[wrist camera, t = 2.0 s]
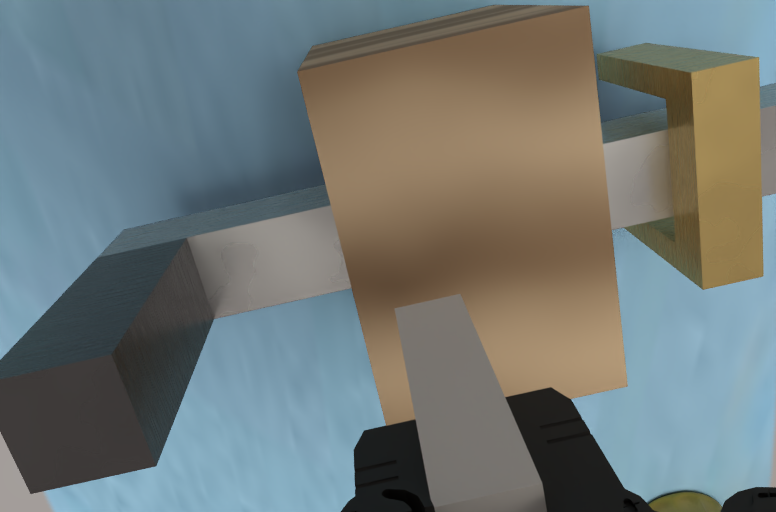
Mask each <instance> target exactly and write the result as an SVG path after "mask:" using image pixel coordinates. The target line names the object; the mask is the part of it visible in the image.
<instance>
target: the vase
mask: <svg viewBox="0 0 776 512" xmlns="http://www.w3.org/2000/svg"><path fill="white" fill-rule="evenodd" d="M648 505H649V506H650V507H651V508H652V510H654V511H658V512H720V511H721V509H722V506H721V505H720V504H719V503H718V502H717V501H716V500H714V499H713V498H711V497H709V496H707V495H704V494H700V493H695V492H680V493H675V494H670V495H667V496H663V497H661V498H658V499H656V500H654V501H653V502H651V503H649V504H648Z"/></svg>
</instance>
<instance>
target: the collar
mask: <svg viewBox="0 0 776 512" xmlns="http://www.w3.org/2000/svg"><path fill="white" fill-rule="evenodd" d="M597 64H598V74H599V80H602V81H606V82H609V83H613V84H616V85H620V86H623V87H626V88H630V89H633V90H637V91H640V92H644V93H647V94H651V95H654V96H657V97H661V98H664V99H666V109H667V123H668V138H669V153H670V168H671V182H672V197H673V212H674V216H672V217H668V218H663V219H659V220H655V221H650V222H646V223H641V224H637V225H632V226H628V227H623V228H625V229H626V230H627V231H629V232H630V233H631V234H632V235H634V236H635V237H636V238H638V239H639V240H640V241H641V242H643V243H644V244H645V245H646V246H648V247H649V248H650V249H652V250H653V251H654V252H655V253H657V254H658V255H659V256H661V257H662V258H663V259H664V260H666V261H667V262H668V263H669V264H671V265H672V266H673V267H675V268H676V269H677V270H678V271H680V272H681V273H682V274H683V275H685V276H686V277H687V278H689V279H690V280H691V281H692V282H694V283H695V284H696V285H698V286H699V287H700V288H701V289H703V290H704V289H709V288H713V287H718V286H722V285H727V284H731V283H736V282H740V281H745V280H749V279H754V278H758V277H763V231H762V181H761V131H760V81H759V57H752V56H744V55H737V54H729V53H721V52H713V51H705V50H697V49H689V48H682V47H674V46H666V45H658V44H650V43H644V44H639V45H635V46H631V47H626V48H622V49H617V50H613V51H608V52H604V53H600V54H597Z"/></svg>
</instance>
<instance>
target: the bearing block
mask: <svg viewBox="0 0 776 512" xmlns="http://www.w3.org/2000/svg"><path fill="white" fill-rule="evenodd" d="M297 73H298V77H299V81H300V85H301V89H302V93H303V97H304V101H305V105H306V109H307V113H308V117H309V121H310V125H311V129H312V133H313V137H314V140H315V144H316V148H317V152H318V156H319V160H320V164H321V168H322V172H323V176H324V180H325V184H326V188H327V192H328V196H329V200H330V204H331V208H332V212H333V216H334V220H335V224H336V228H337V232H338V236H339V240H340V244H341V248H342V252H343V256H344V260H345V264H346V268H347V272H348V276H349V280H350V284H351V288H352V292H353V295H354V299H355V303H356V307H357V311H358V315H359V319H360V323H361V327H362V331H363V335H364V339H365V343H366V347H367V351H368V355H369V359H370V363H371V367H372V371H373V375H374V379H375V383H376V387H377V391H378V395H379V399H380V403H381V407H382V411H383V415H384V419H385V423H386V426H387V425H392V424H396V423H401V422H405V421H410V420H414V419H415V414H414V409H413V403H412V398H411V393H410V387H409V382H408V377H407V372H406V366H405V361H404V356H403V351H402V345H401V340H400V335H399V329H398V324H397V319H396V314H395V308H399V307H403V306H408V305H412V304H417V303H421V302H426V301H430V300H435V299H439V298H444V297H448V296H453V295H457V294H461V297H462V299H463V301H464V303H465V306H466V308H467V310H468V313H469V315H470V317H471V320H472V322H473V324H474V327H475V329H476V331H477V334H478V336H479V338H480V340H481V343H482V345H483V347H484V350H485V352H486V354H487V357H488V359H489V361H490V364H491V366H492V368H493V370H494V373H495V375H496V377H497V380H498V382H499V384H500V387H501V389H502V391H503V394H504V396H505V397H508V396H513V395H517V394H522V393H526V392H531V391H535V390H540V389H544V388H549V387H552V388H553V389H555V390H556V391H558V392H560V393H561V394H563V395H564V396H566V397H568V398H569V399H573V398H577V397H582V396H586V395H591V394H595V393H600V392H604V391H609V390H613V389H618V388H622V387H627V386H628V385H627V375H626V365H625V356H624V346H623V336H622V326H621V316H620V307H619V297H618V287H617V277H616V267H615V258H614V248H613V238H612V228H611V219H610V209H609V199H608V189H607V179H606V170H605V160H604V150H603V140H602V130H601V121H600V111H599V101H598V91H597V81H596V72H595V62H594V52H593V42H592V32H591V23H590V13H589V6H559V5H491V6H487V7H483V8H478V9H474V10H469V11H465V12H461V13H456V14H452V15H447V16H443V17H438V18H434V19H430V20H425V21H421V22H416V23H412V24H408V25H403V26H399V27H394V28H390V29H386V30H381V31H377V32H372V33H368V34H363V35H359V36H355V37H350V38H346V39H341V40H337V41H333V42H328V43H324V44H319V45H315V46H312V48H311V49H310V51H309V53H308V54H307V56H306V58H305V59H304V61H303V63H302V65H301V66H300V68H299V70H298V71H297Z"/></svg>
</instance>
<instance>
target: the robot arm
mask: <svg viewBox="0 0 776 512" xmlns="http://www.w3.org/2000/svg"><path fill="white" fill-rule="evenodd" d="M395 314H396V319H397V324H398V329H399V335H400V340H401V345H402V351H403V356H404V361H405V366H406V372H407V377H408V382H409V387H410V393H411V398H412V403H413V409H414V414H415V419H414V420H410V421H405V422H401V423H396V424H392V425H387V426H383V427H378V428H374V429H369V430H365V431H364V432H363V434H362V436H361V437H360V439H359V441H358V443H357V445H356V447H355V449H354V469H355V487H356V489H355V497H354V498H352V499H351V500H350V501H349V502H348V503H347V504H346V506H345V507H344V508H343V509H342V511H341V512H658V511H654V510H652V508H651V507H650V506H649V505H648V504H647V503H646V502H645V501H644V500H643V499H642V498H641V497H640V496H638V495H636V494H634V493H632V492H630V491H628V490H626V489H624V487H623V485H622V484H621V482H620V480H619V479H618V477H617V475H616V474H615V472H614V470H613V469H612V467H611V465H610V464H609V462H608V460H607V459H606V457H605V455H604V454H603V452H602V450H601V449H600V447H599V445H598V444H597V442H596V440H595V439H594V437H593V435H591V434H590V430H589V429H588V427H587V426H586V424H585V422H584V421H583V420H582V418H581V416H580V414H579V412H578V411H577V409H576V407H575V406H574V404H573V402H572V401H571V399H569V398H568V397H566V396H564V395H563V394H561V393H560V392H558V391H556V390H555V389H553V388H552V387H549V388H544V389H540V390H535V391H531V392H526V393H522V394H517V395H513V396H508V397H505V396H504V394H503V391H502V389H501V387H500V384H499V382H498V380H497V377H496V375H495V373H494V370H493V368H492V366H491V364H490V361H489V359H488V357H487V354H486V352H485V350H484V347H483V345H482V343H481V340H480V338H479V336H478V334H477V331H476V329H475V327H474V324H473V322H472V320H471V317H470V315H469V313H468V310H467V308H466V306H465V303H464V301H463V299H462V297H461V294H457V295H453V296H448V297H444V298H439V299H435V300H430V301H426V302H421V303H417V304H412V305H408V306H403V307H399V308H395ZM720 512H776V488H773V487H755V488H751V489H747V490H743V491H739V492H737V493H736V494H734V495H733V496H731V497H730V498H729V499H727V500H726V501H725V502H724V505H723V507H722V509H721V511H720Z"/></svg>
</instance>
